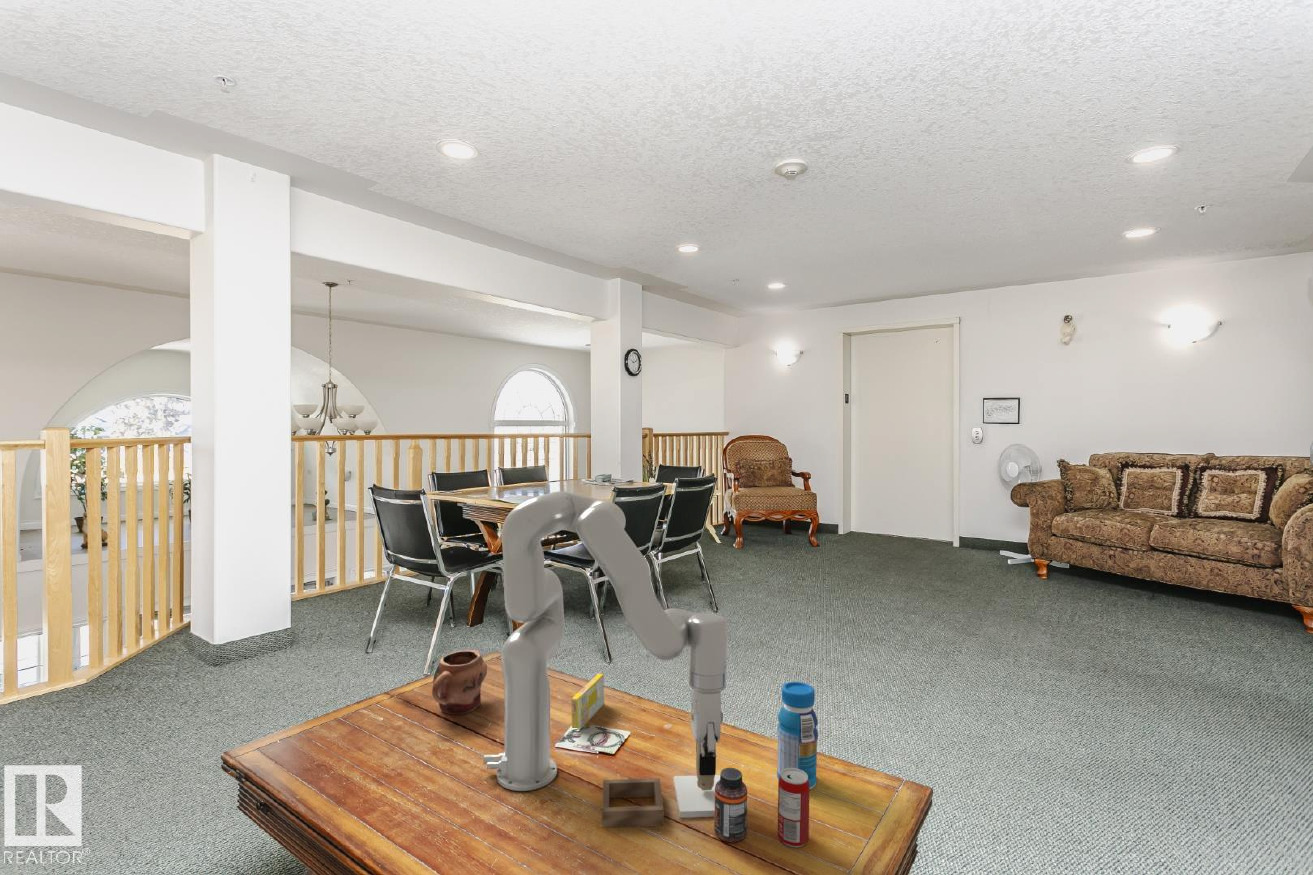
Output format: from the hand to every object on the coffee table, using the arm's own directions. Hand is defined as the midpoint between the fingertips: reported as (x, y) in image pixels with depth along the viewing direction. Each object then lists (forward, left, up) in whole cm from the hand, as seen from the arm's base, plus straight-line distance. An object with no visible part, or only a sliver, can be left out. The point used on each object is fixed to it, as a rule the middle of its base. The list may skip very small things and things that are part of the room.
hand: (705, 766), depth 126 cm
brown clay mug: (-59, +41, -7) cm, 72 cm away
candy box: (-25, +36, -7) cm, 44 cm away
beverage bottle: (+20, +5, -6) cm, 22 cm away
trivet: (0, 0, -6) cm, 6 cm away
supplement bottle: (+3, -11, -7) cm, 13 cm away
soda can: (+14, -13, -6) cm, 20 cm away
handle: (0, 0, -4) cm, 4 cm away
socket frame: (-15, -3, -6) cm, 16 cm away
